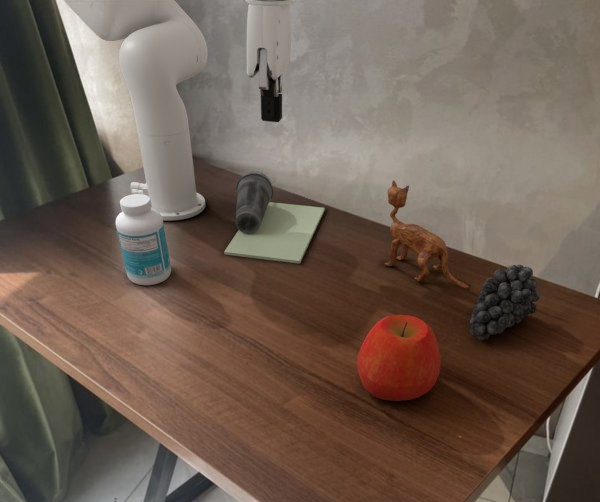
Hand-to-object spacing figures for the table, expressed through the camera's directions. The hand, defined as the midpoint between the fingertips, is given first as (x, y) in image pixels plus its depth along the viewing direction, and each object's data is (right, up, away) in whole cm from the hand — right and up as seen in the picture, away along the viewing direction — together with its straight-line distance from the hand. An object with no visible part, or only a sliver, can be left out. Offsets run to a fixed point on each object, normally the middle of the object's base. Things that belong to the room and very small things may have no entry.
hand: (271, 119), depth 101 cm
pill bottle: (-21, -26, +2) cm, 33 cm away
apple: (+18, -45, -19) cm, 52 cm away
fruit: (+34, -36, -8) cm, 50 cm away
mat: (0, -15, +14) cm, 20 cm away
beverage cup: (-5, -15, +10) cm, 18 cm away
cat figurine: (+26, -26, +3) cm, 36 cm away
